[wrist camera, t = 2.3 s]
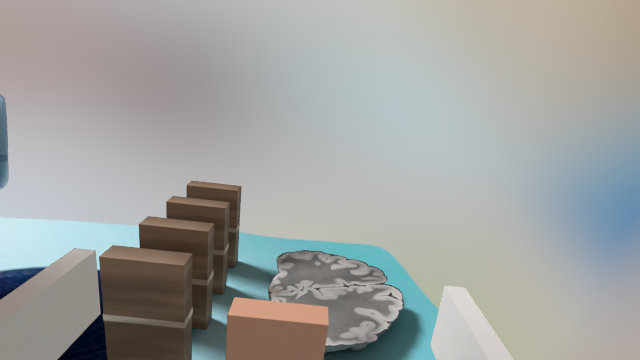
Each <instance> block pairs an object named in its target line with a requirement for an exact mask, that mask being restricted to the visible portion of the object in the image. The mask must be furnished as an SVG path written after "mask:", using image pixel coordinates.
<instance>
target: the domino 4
mask: <svg viewBox="0 0 640 360" xmlns="http://www.w3.org/2000/svg"><path fill="white" fill-rule="evenodd" d="M139 239H140V248H143V249H153V250H162V251H172V252H181V253H191V254H192V307H193V313H192V328H195V329H205V330H206V329H207V326H208V324H209V322H210V320H211V318H212V285H213V271H214V270H213V252H214V223H205V222H196V221H186V220H177V219H168V218H158V217H147V218H146V219H145V220H143V221H142V222H141V223H140V224H139Z"/></svg>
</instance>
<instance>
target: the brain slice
mask: <svg viewBox="0 0 640 360" xmlns="http://www.w3.org/2000/svg"><path fill="white" fill-rule="evenodd" d="M277 267H278V273H277V274H276V276H275V277H274V278H273V280H272V282H271V283H270V285H269V287H268V293H269V299H270V301H277V302H286V303H296V304H306V305H316V306H325V307H328V322H329V326H328V333H327V339H326V346H325V353H326V352H332V351H339V350H345V349H348V348H349V349H351V350H353V351H358V350H361V349H362V348H364V347H366V346H367V344H369V343H372V342H374V341H376V340H377V339H378V336H379V335H381V334H382V333H384V332H385V331H386V330H387V329H388V328H390V325H391V324H392V323H393V322H394V321H395V320H396V319H397V318H398V316H399V313H400V310H401V309H403V305H404V303H403V300H402V299H403V294H402V292H401V291H400V290H399V289H398V288H396V287H393V286H391V285H387V284H384V283H385V282H386V281H387V277H386V276H385V275H384V272H383V271H382V270H380V269H379V268H376V267H373V266H368V265H367V263H365V262H362V261H359V260H355V259H347V258H345V257H342V256H338V255H333V254H328V253H323V252H321V251H308V250H303V251H295V252H286V253H283V254H281V255H280V256H278V258H277Z"/></svg>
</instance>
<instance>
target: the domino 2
mask: <svg viewBox="0 0 640 360" xmlns="http://www.w3.org/2000/svg"><path fill="white" fill-rule="evenodd" d="M187 198H195V199H205V200H214V201H223V202H230V210H229V233H228V243H229V244H228V257H227V267H233V268H234V267H235V265H236V263H237V261H238V241H239V227H240V223H239V222H240V202H241V186H235V185H226V184H217V183H207V182H198V181H191V182H190V183H189V184H188V185H187Z"/></svg>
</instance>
